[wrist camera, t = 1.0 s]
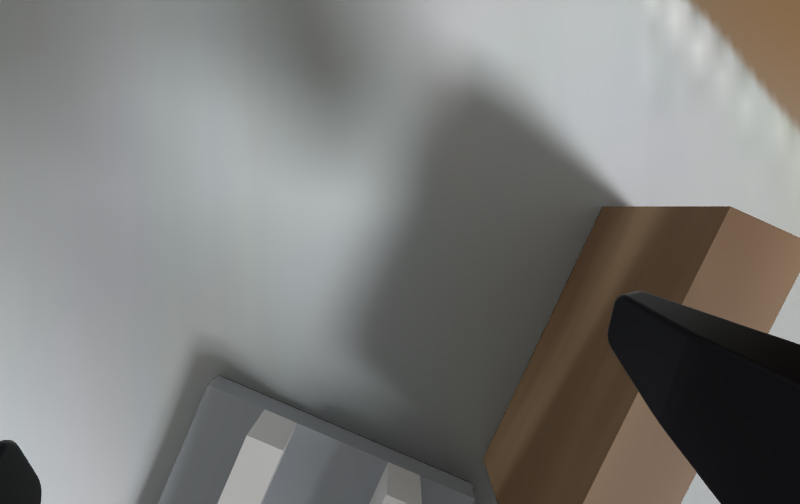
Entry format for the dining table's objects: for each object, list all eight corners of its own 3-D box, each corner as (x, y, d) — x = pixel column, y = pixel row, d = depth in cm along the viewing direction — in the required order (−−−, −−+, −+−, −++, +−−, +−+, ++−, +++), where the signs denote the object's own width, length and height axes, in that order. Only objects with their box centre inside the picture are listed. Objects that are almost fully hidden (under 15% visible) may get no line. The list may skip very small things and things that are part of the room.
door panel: (653, 229, 18) (814, 244, 11) (532, 478, 19) (609, 640, 12) (601, 206, 18) (730, 206, 11) (482, 457, 19) (531, 608, 12)
